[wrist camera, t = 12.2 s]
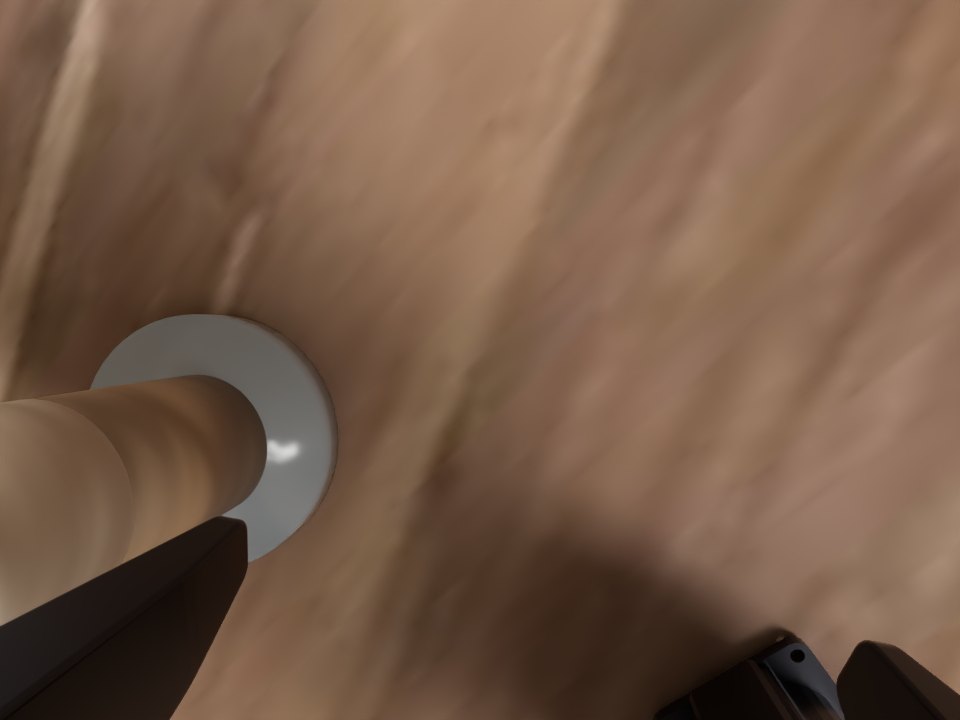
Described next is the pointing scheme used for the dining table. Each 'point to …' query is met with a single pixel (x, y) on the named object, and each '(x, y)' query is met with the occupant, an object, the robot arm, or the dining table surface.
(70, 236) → the dining table surface
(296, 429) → the slate coaster
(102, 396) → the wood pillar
